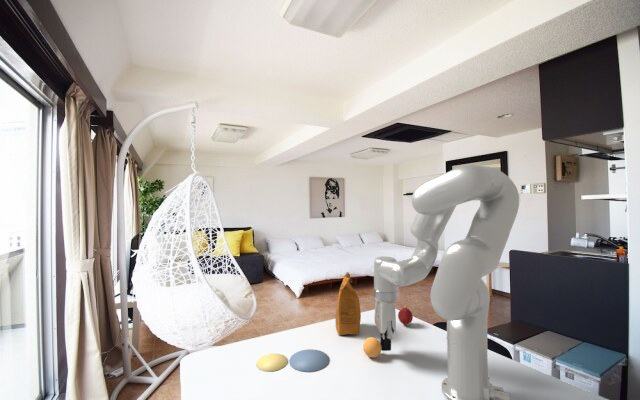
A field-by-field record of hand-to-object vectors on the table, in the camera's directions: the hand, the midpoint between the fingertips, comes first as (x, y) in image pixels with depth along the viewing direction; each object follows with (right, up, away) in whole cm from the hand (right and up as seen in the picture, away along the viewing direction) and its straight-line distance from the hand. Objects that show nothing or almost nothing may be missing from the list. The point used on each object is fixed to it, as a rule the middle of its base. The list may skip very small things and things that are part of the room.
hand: (385, 349), depth 97 cm
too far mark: (-37, -2, -3) cm, 38 cm away
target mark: (-25, -2, -3) cm, 26 cm away
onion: (+13, -2, +23) cm, 26 cm away
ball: (-5, +1, -1) cm, 5 cm away
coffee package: (-11, -2, +19) cm, 22 cm away
